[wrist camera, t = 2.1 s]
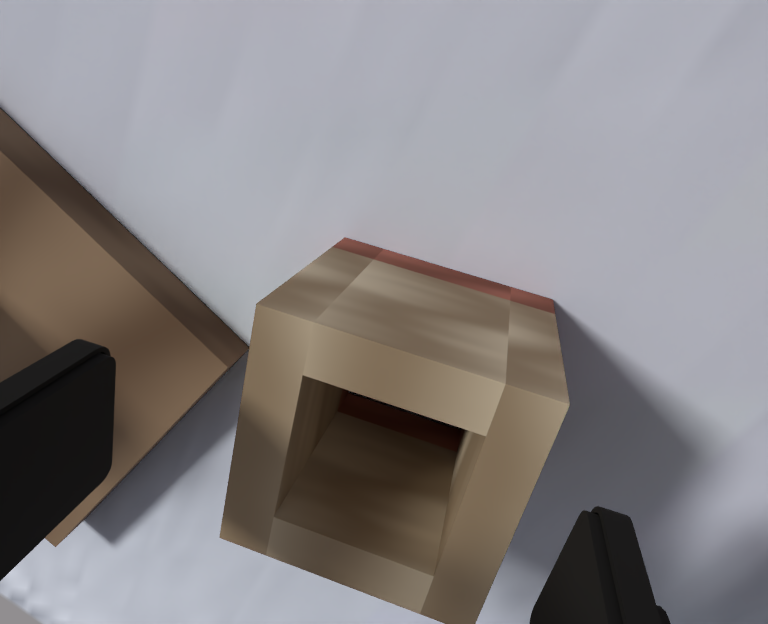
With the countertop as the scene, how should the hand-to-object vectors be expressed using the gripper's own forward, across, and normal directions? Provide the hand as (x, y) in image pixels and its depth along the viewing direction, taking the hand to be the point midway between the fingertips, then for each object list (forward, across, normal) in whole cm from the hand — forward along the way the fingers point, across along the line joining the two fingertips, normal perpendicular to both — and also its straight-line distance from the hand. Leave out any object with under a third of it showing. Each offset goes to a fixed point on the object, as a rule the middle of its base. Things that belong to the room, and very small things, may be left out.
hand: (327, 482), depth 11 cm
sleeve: (+7, -1, 0) cm, 7 cm away
